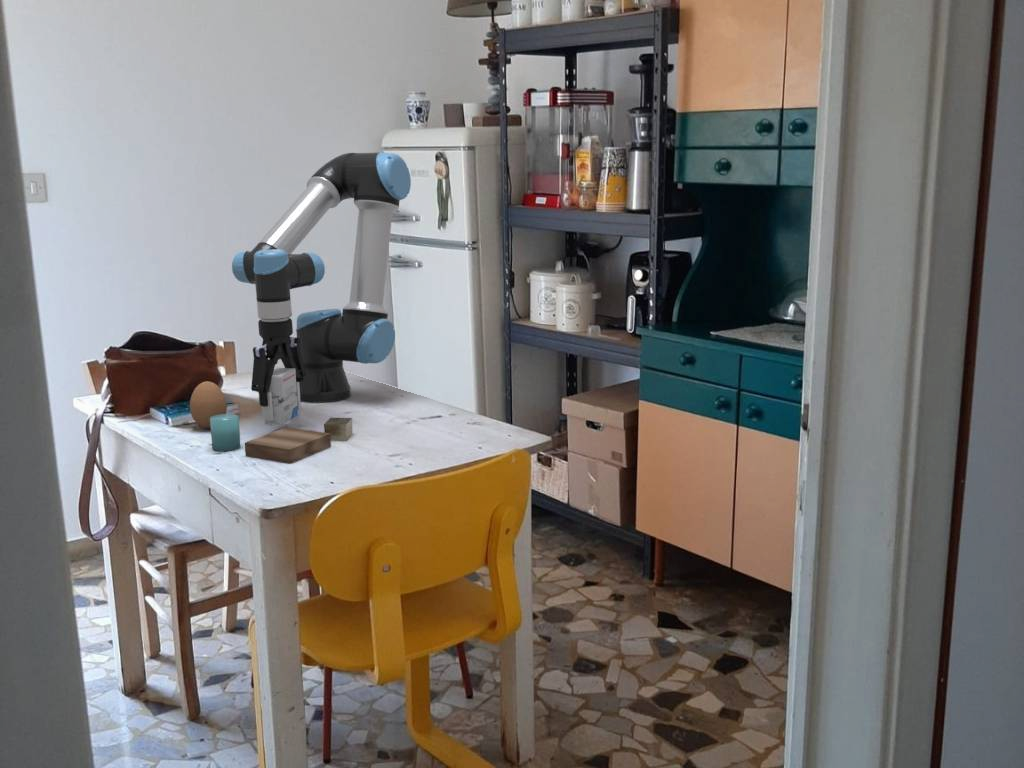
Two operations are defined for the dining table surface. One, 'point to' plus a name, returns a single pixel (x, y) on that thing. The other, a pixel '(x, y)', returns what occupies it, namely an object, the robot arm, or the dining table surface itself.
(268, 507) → the dining table surface
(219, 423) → the teal pillar candle
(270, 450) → the stand
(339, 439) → the brass tin
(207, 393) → the egg
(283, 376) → the ink box
